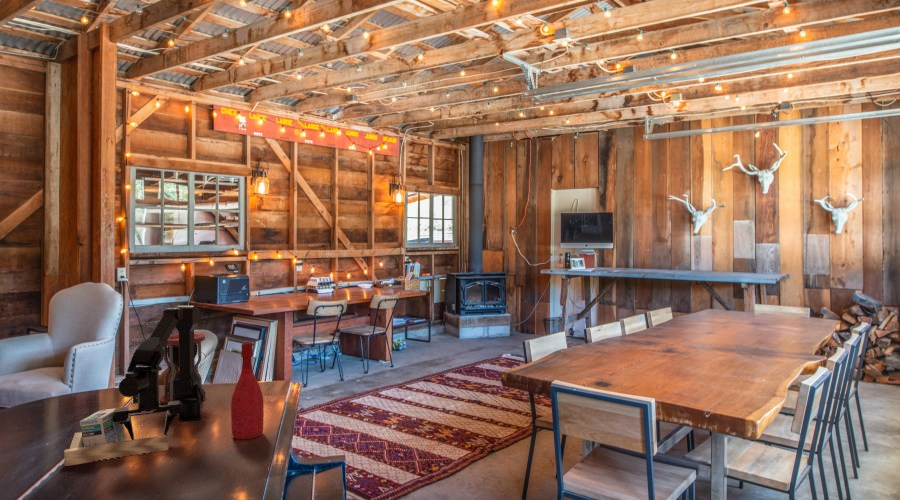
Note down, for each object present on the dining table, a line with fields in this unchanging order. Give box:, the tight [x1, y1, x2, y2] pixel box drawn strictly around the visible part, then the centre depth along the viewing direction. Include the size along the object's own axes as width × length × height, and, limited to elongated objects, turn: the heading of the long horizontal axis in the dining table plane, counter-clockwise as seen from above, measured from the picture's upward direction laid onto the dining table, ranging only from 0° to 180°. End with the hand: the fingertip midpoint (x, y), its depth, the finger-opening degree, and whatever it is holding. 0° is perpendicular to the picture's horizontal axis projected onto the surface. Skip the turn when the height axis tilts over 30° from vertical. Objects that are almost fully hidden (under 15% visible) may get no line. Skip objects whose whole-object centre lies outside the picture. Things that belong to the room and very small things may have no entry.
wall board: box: [63, 431, 169, 467], centre depth 175 cm, size 26×17×4 cm, turn 118°
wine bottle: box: [230, 341, 265, 440], centre depth 185 cm, size 10×10×30 cm
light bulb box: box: [79, 407, 127, 447], centre depth 173 cm, size 11×7×11 cm, turn 3°
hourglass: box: [159, 332, 207, 406], centre depth 225 cm, size 16×16×25 cm
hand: (149, 438), depth 178 cm, fingers open, 8 cm apart
